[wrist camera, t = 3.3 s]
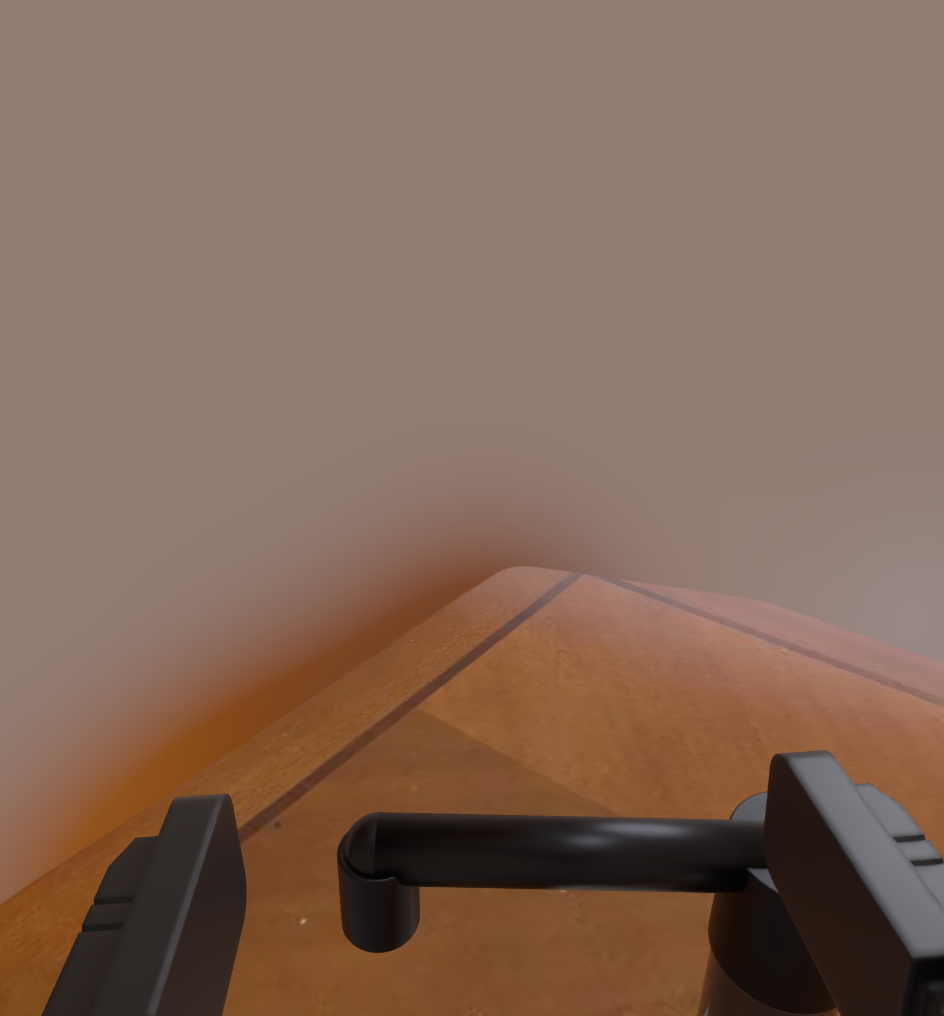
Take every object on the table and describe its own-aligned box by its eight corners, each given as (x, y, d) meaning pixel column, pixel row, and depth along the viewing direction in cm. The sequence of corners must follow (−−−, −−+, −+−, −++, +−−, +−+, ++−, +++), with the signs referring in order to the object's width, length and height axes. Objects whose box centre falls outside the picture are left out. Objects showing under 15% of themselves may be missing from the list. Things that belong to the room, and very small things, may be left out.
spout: (824, 890, 28) (855, 779, 26) (880, 1017, 24) (921, 898, 22) (353, 880, 28) (346, 768, 26) (332, 1005, 24) (322, 885, 22)
